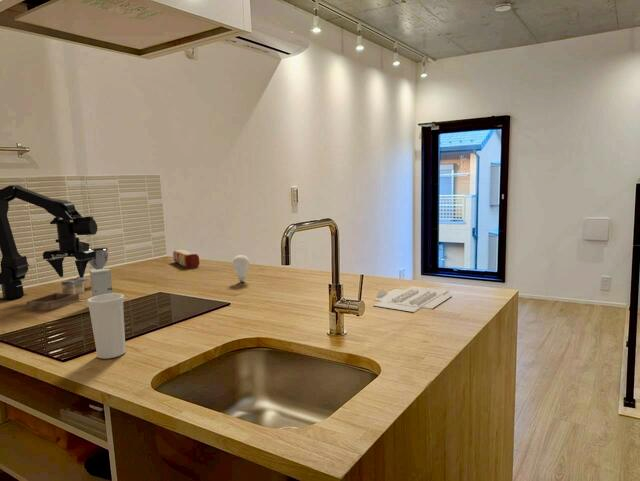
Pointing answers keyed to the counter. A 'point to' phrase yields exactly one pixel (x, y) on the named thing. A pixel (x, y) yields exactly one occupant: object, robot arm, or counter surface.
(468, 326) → the counter surface
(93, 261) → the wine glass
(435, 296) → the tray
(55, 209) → the robot arm
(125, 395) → the counter surface
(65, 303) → the open box
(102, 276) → the skincare box
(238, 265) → the light bulb
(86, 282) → the dish
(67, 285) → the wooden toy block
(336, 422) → the counter surface
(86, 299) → the card
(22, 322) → the counter surface
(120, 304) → the cup
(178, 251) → the snack package
